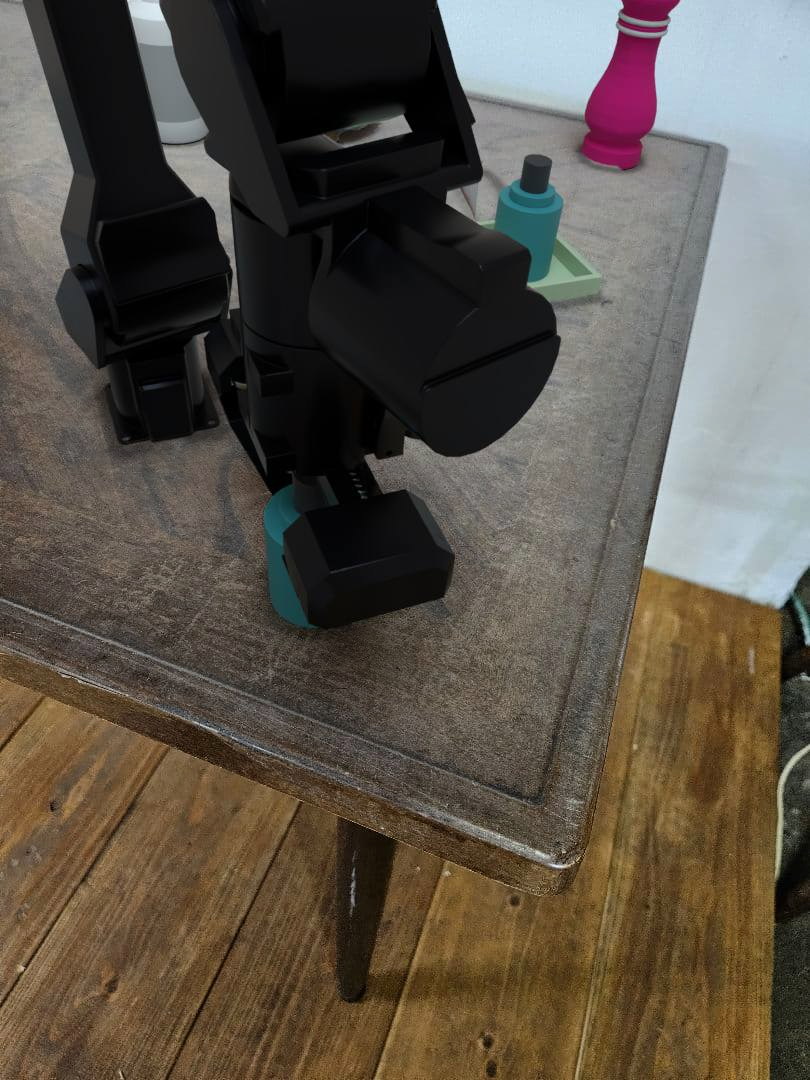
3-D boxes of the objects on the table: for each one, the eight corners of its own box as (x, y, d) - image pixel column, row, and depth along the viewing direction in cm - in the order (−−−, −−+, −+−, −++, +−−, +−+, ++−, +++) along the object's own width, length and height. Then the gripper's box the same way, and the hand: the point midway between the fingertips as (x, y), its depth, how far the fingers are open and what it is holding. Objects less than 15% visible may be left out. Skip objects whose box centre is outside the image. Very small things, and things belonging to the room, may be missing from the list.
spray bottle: (179, 151, 82) (150, -69, 69) (128, 132, 84) (91, -84, 71) (223, 130, 86) (204, -81, 73) (173, 113, 89) (146, -95, 75)
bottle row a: (478, 255, 71) (493, 149, 65) (531, 248, 73) (551, 143, 66) (505, 286, 68) (524, 177, 61) (559, 278, 70) (584, 170, 63)
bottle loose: (258, 568, 46) (247, 446, 40) (346, 546, 48) (349, 426, 41) (285, 639, 43) (277, 520, 37) (377, 614, 45) (386, 495, 38)
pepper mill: (562, 151, 89) (608, -76, 74) (608, 139, 92) (661, -81, 77) (610, 177, 85) (669, -56, 70) (656, 163, 88) (722, -62, 74)
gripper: (609, 413, 29) (530, 662, 41) (411, 185, 41) (393, 429, 52) (308, 479, 26) (314, 730, 37) (185, 209, 37) (218, 465, 49)
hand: (316, 566), depth 44 cm, fingers open, 8 cm apart
